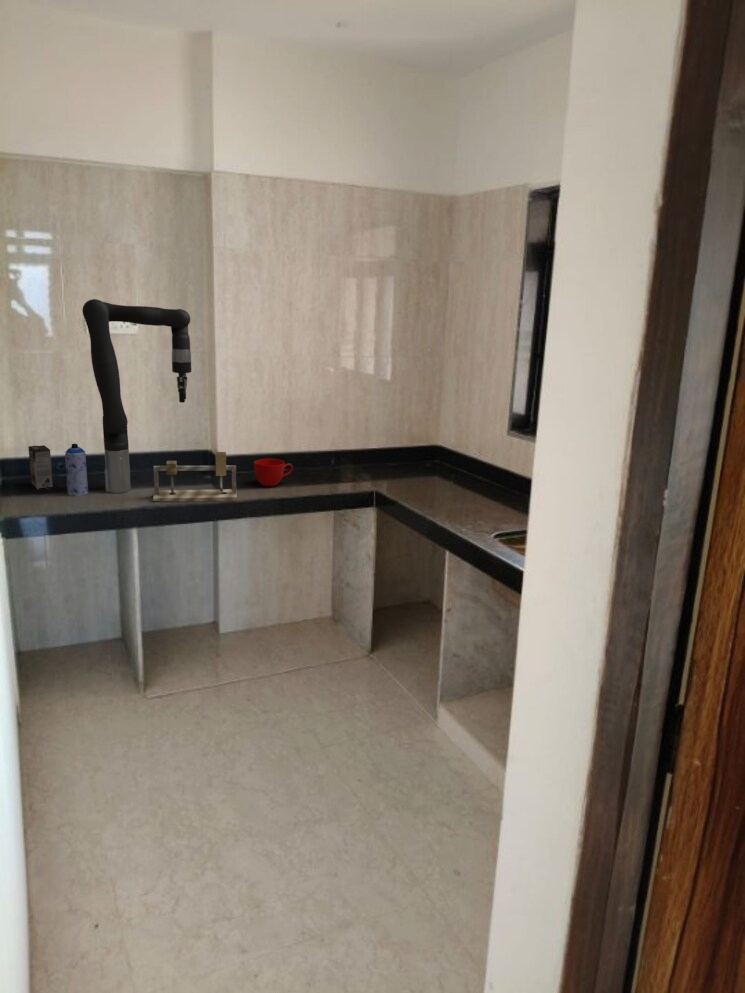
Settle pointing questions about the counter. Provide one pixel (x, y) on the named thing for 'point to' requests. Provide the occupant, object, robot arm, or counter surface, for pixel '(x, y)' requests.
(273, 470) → the ceramic cup
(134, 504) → the counter surface
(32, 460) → the coffee box
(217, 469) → the trammel head
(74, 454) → the aerosol can
